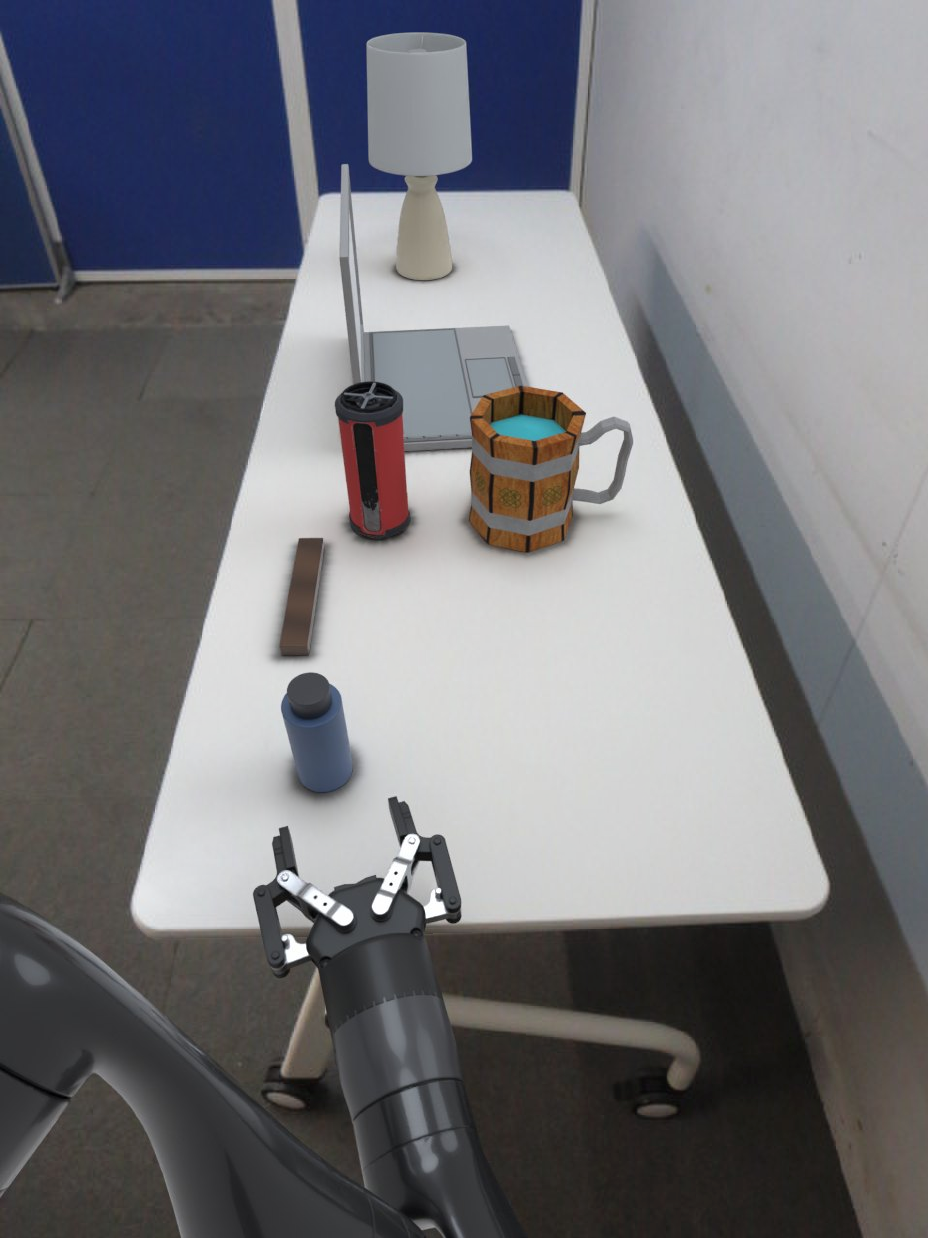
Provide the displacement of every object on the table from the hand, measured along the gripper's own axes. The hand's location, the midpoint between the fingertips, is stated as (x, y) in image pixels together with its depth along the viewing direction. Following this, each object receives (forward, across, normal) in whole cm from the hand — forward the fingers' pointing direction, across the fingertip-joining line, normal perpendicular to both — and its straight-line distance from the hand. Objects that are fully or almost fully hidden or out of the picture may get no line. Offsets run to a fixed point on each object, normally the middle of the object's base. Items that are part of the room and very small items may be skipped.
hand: (339, 817), depth 63 cm
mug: (+40, -34, +9) cm, 54 cm away
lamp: (+121, -41, +9) cm, 128 cm away
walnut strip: (+35, -2, +9) cm, 36 cm away
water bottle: (+11, 0, +9) cm, 14 cm away
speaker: (+46, -14, +9) cm, 49 cm away
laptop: (+76, -31, +9) cm, 82 cm away
